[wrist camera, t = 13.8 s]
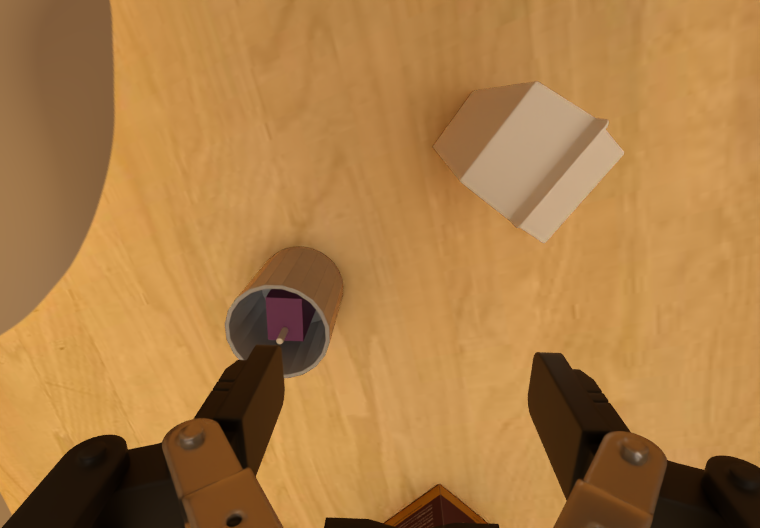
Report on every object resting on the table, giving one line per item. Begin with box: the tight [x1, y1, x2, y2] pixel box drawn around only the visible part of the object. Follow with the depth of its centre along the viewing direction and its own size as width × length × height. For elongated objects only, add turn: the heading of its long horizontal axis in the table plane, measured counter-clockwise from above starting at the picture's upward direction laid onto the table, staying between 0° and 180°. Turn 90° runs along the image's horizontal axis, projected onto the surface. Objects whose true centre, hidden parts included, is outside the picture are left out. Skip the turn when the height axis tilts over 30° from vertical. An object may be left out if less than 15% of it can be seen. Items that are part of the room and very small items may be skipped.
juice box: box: [266, 289, 316, 344], centre depth 41 cm, size 4×3×9 cm
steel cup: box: [225, 247, 343, 378], centre depth 41 cm, size 9×9×10 cm
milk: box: [433, 81, 624, 243], centre depth 30 cm, size 6×6×22 cm
